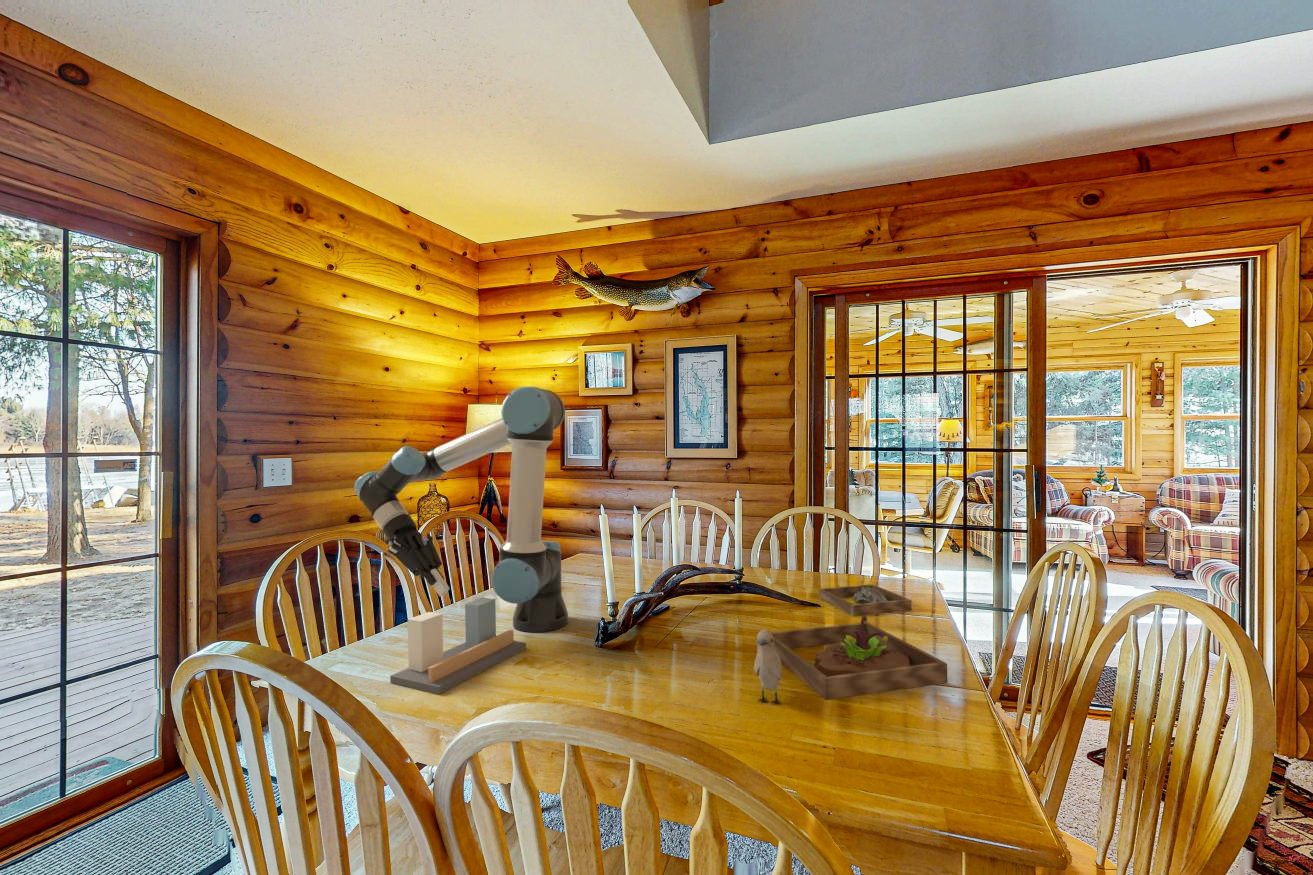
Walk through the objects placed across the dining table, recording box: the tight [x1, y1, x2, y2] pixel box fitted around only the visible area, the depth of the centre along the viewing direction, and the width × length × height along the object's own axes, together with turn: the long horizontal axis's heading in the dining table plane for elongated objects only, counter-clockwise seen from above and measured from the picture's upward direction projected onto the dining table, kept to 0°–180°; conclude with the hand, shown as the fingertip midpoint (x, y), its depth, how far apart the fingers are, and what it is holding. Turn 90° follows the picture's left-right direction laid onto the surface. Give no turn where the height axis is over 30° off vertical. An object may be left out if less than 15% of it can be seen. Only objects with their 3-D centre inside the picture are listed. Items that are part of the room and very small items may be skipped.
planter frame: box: [769, 621, 948, 701], centre depth 133 cm, size 28×28×4 cm
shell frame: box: [818, 583, 912, 617], centre depth 179 cm, size 19×19×3 cm
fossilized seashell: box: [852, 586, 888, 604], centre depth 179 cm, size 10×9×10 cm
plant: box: [814, 615, 911, 677], centre depth 132 cm, size 20×20×11 cm
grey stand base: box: [389, 629, 527, 695], centre depth 137 cm, size 14×28×4 cm, turn 154°
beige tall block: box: [407, 611, 444, 672], centre depth 132 cm, size 4×6×11 cm, turn 154°
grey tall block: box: [464, 597, 497, 650], centre depth 143 cm, size 4×6×11 cm, turn 154°
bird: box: [753, 628, 783, 706], centre depth 115 cm, size 5×14×15 cm, turn 158°
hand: (444, 592), depth 148 cm, fingers closed
